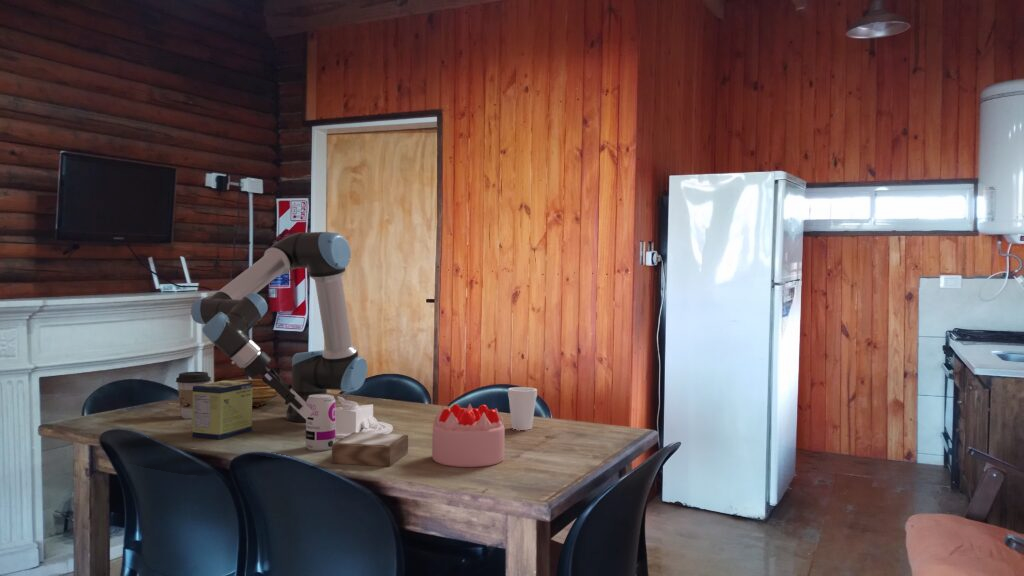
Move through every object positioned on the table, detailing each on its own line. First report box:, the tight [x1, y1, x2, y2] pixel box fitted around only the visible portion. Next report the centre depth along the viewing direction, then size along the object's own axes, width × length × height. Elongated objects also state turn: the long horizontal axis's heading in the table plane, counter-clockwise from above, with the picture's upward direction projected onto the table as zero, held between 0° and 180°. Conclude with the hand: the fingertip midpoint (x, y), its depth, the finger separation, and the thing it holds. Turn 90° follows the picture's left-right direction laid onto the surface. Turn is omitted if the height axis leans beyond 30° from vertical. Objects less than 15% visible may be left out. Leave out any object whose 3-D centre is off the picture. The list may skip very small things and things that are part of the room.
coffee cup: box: [175, 371, 212, 420], centre depth 269 cm, size 11×11×15 cm
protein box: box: [191, 379, 253, 440], centre depth 243 cm, size 10×16×16 cm
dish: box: [335, 395, 394, 440], centre depth 250 cm, size 25×25×11 cm
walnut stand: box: [331, 432, 409, 467], centre depth 214 cm, size 16×16×5 cm
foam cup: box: [507, 386, 538, 431], centre depth 258 cm, size 10×9×13 cm
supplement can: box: [305, 393, 337, 452], centre depth 225 cm, size 8×8×15 cm
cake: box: [431, 403, 506, 468], centre depth 215 cm, size 20×20×14 cm
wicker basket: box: [232, 378, 280, 407], centre depth 296 cm, size 30×24×8 cm
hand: (306, 411), depth 223 cm, fingers open, 13 cm apart
